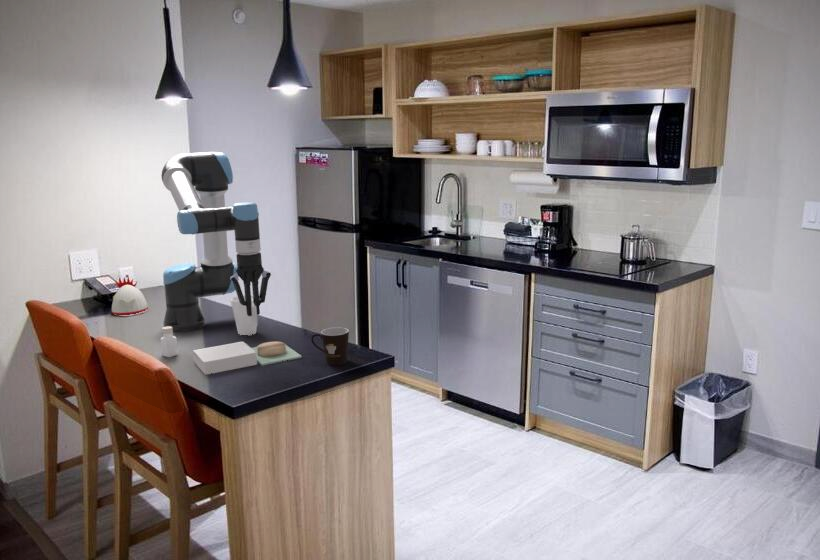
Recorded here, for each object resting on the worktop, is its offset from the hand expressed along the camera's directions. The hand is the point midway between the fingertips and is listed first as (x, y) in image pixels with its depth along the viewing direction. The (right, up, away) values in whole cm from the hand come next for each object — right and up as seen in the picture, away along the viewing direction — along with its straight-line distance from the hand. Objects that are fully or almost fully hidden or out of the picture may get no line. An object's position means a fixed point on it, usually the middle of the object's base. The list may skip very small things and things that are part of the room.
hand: (254, 325), depth 217 cm
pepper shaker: (-29, -11, +7) cm, 32 cm away
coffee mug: (+26, -11, -4) cm, 28 cm away
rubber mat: (+5, -10, +4) cm, 12 cm away
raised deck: (-8, -12, -3) cm, 15 cm away
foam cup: (-9, -5, +29) cm, 31 cm away
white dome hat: (-66, +1, +65) cm, 93 cm away
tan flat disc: (+5, -9, +4) cm, 11 cm away
